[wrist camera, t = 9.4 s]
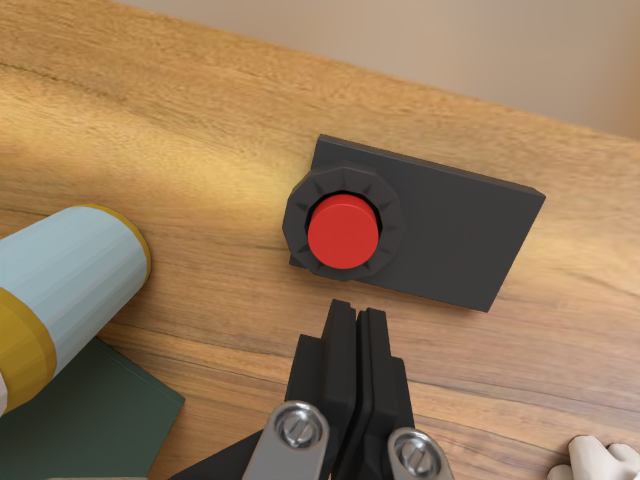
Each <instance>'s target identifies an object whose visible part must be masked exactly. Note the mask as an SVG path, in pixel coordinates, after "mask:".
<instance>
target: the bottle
mask: <svg viewBox="0 0 640 480" xmlns="http://www.w3.org/2000/svg"><path fill="white" fill-rule="evenodd" d="M150 270H151V256H150V252H149V249H148V246H147V243H146V241H145V239H144V238H143V236H142V235H141V233H140V232H139V230H138V229H137V228H136V227H135V226H134V225H133V224H132V223H131V222H130V221H129V220H127V219H126V218H125V217H124V216H122V215H121V214H119V213H117V212H115V211H113V210H111V209H109V208H107V207H104V206H99V205H94V204H79V205H74V206H71V207H69V208H66V209H64V210H62V211H60V212H57V213H55V214H53V215H51V216H49V217H47V218H45V219H43V220H41V221H39V222H37V223H35V224H32V225H30V226H28V227H26V228H24V229H22V230H20V231H18V232H16V233H14V234H12V235H10V236H8V237H5V238H3V239H1V240H0V417H1V416H2V415H4V414H5V413H7V412H9V411H11V410H13V409H15V408H16V407H18V406H20V405H22V404H24V403H26V402H27V401H29V400H31V399H32V398H33V397H34V396H35V395H37V394H38V393H39V392H40V391H41V390H42V389H43V388H44V387H45V386H46V385H47V384H48V383H49V382H50V381H51V380H52V379H53V378H54V377H55V376H56V375H57V374H58V373H59V372H60V371H61V370H62V369H63V368H64V367H65V366H66V365H67V364H68V363H69V362H70V361H71V360H72V359H73V358H74V357H75V356H76V355H77V353H78V352H79V351H80V350H81V349H82V348H83V347H84V346H85V345H86V344H87V343H88V342H89V341H90V340H91V339H92V338H93V337H94V336H95V335H96V334H97V333H98V332H99V331H100V330H101V329H102V328H103V327H104V326H105V325H106V324H107V323H108V321H109V320H110V319H111V318H112V317H113V316H114V315H115V314H116V313H117V312H118V311H119V310H120V309H121V308H122V307H123V306H124V305H125V304H126V303H127V302H128V301H129V300H130V299H131V298H132V297H133V296H134V295H135V294H136V293H137V292H138V291H139V289H140V288H141V287H142V286H143V285H144V284H145V282H146V281H147V278H148V276H149V274H150Z"/></svg>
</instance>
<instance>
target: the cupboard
mask: <svg viewBox="0 0 640 480" xmlns="http://www.w3.org/2000/svg"><path fill="white" fill-rule="evenodd" d="M184 401H185V398H183V397H182V396H180V395H179V394H177V393H176V392H175V391H173V390H172V389H170V388H169V387H167V386H166V385H164V384H163V383H161V382H160V381H159V380H157V379H156V378H154V377H153V376H151V375H150V374H148V373H147V372H145V371H144V370H143V369H141V368H140V367H138V366H137V365H135V364H134V363H132V362H131V361H129V360H128V359H127V358H125V357H124V356H122V355H121V354H119V353H118V352H116V351H115V350H113V349H112V348H111V347H109V346H108V345H106V344H105V343H103V342H102V341H100V340H99V339H97V338H96V337H95V336H94V337H93V338H92V339H91V340H90V341H89V342H88V343H87V344H86V345H85V346H84V347H83V348H82V349H81V350H80V351H79V352H78V353H77V355H76V356H75V357H74V358H73V359H72V360H71V361H70V362H69V363H68V364H67V365H66V366H65V367H64V368H63V369H62V370H61V371H60V372H59V373H58V374H57V375H56V376H55V377H54V378H53V379H52V380H51V381H50V382H49V383H48V384H47V385H46V386H45V387H44V388H43V389H42V390H41V391H40V392H39V393H38V394H37V395H35V396H34V397H33V398H32V399H31V400H29V401H27V402H26V403H24V404H22V405H20V406H18V407H16V408H15V409H13V410H11V411H9V412H7V413H5V414H4V415H2V416H1V417H0V480H45V479H51V478H113V477H146V476H147V474H148V472H149V470H150V468H151V466H152V464H153V462H154V460H155V458H156V456H157V454H158V452H159V450H160V448H161V446H162V444H163V442H164V440H165V439H166V437H167V435H168V433H169V431H170V429H171V427H172V425H173V423H174V421H175V419H176V417H177V415H178V413H179V411H180V409H181V406H182V405H183V403H184Z"/></svg>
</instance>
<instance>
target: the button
mask: <svg viewBox="0 0 640 480" xmlns="http://www.w3.org/2000/svg"><path fill="white" fill-rule="evenodd" d="M308 243H309V246H310V249H311V251H312V252H313V254H314V255H315V256H316V257H317V258H318V259H319V260H320V261H321V262H322V263H324V264H326V265H328V266H330V267H334V268H338V269H348V268H353V267H356V266H359V265H361V264H363V263H364V262H365V261H367V260H368V259H369V258H370V257H371V256H372V254H373V253H374V251H375V249H376V247H377V244H378V229H377V223H376V218H375V215H374V212H373V210H372V209H371V207H370V206H369V205H368V204H367V203H366V202H365V201H364V200H362V199H360V198H358V197H356V196H353V195H349V194H338V195H334V196H331V197H329V198H327V199H325V200H323V201H322V202H321V203H320V204H319V205H318V206H317V207H316V209H315V210H314V212H313V215H312V218H311V222H310V226H309V230H308Z"/></svg>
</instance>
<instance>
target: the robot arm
mask: <svg viewBox="0 0 640 480" xmlns="http://www.w3.org/2000/svg"><path fill="white" fill-rule="evenodd" d="M330 473H331V480H455V478H454V476H453V473H452V470H451V468H450V465H449V463H448V460H447V457H446V455H445V454H444V452H443V450H442V448H441V447H440V446H439V444H438V443H437V442H436V441H435V440H434V439H433V438H431V437H430V436H429V435H428V434H426V433H424V432H422V431H420V430H418V429H415V425H414V419H413V413H412V407H411V401H410V395H409V390H408V384H407V378H406V372H405V366H404V362H403V360H402V359H401V358H397V357H393V356H391V351H390V344H389V336H388V328H387V320H386V313H385V312H384V311H380V310H376V309H372V308H367V309H366V311H361V310H360V312H359V314H358V317H357V320H356V309H353V308H350V303H348V302H344V301H340V300H336V299H333V300H332V303H331V306H330V310H329V313H328V317H327V320H326V323H325V327H324V330H323V333H322V337H321V339H319V338H315V337H311V336H307V335H303V334H300V337H299V341H298V345H297V348H296V352H295V356H294V360H293V364H292V368H291V372H290V377H289V381H288V386H287V391H286V395H285V400H284V403H281V404H280V405H278V406H277V407H276V408H275V409H274V410H273V412H272V413H271V414H270V417H269V419H268V421H267V423H266V426H265V428H264V429H262V430H260V431H258V432H256V433H254V434H252V435H250V436H249V437H247V438H245V439H243V440H241V441H239V442H237V443H235V444H233V445H231V446H229V447H227V448H225V449H223V450H222V451H220V452H218V453H216V454H214V455H212V456H210V457H208V458H206V459H204V460H202V461H200V462H198V463H196V464H195V465H193V466H191V467H189V468H187V469H185V470H183V471H181V472H179V473H177V474H175V475H174V476H172V477H171V478H170V479H168V480H328V478H329V475H330ZM45 480H149V477H113V478H51V479H45Z"/></svg>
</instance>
